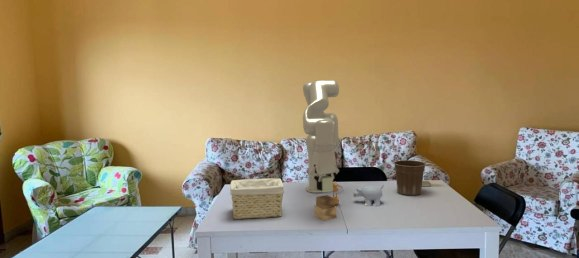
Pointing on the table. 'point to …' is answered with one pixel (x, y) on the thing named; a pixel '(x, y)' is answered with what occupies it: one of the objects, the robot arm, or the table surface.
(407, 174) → the plant pot
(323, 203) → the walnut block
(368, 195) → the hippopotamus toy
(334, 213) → the oak block
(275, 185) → the storage basket
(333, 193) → the figurine
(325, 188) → the sage block
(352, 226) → the table surface
